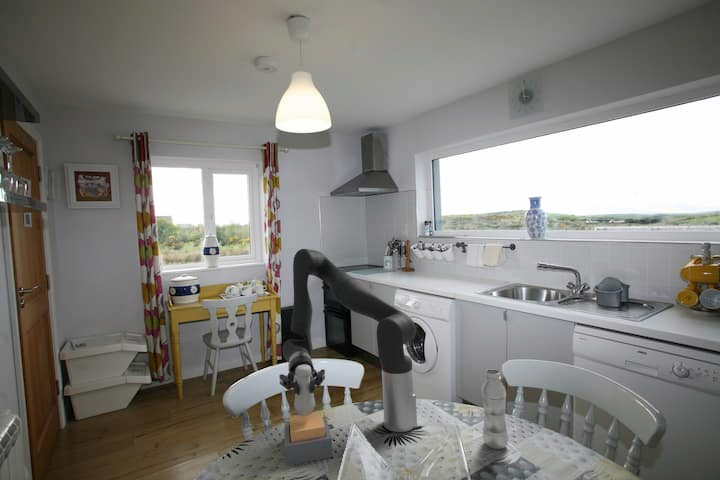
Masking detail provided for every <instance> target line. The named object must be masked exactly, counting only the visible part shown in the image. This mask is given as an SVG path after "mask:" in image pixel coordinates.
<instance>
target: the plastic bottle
mask: <svg viewBox="0 0 720 480" xmlns="http://www.w3.org/2000/svg"><path fill="white" fill-rule="evenodd" d="M480 390H481V391H480V392H481V398H482V403H483V414H484V415H483V416H484V417H483V418H484V419H483V428H482V437H483V438H482V439H483V442H484V444H485V445H486V446H487V447H488V448H491V449H494V450H503V449H505V448H506V447H507V445H508V441H509V435H508V429H507V424H506V423H507V422H506V413H505V412H506V402H507V390H506V387H505V386H504V384H503V383H502V382H501V372H500V370H497V369H495V368H493V369H492V368H491V369H490V368H489V369H488V368H487V369H486V371H485V381H484V383H483V384H482V386H481V389H480Z"/></svg>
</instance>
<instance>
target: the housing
mask: <svg viewBox="0 0 720 480" xmlns="http://www.w3.org/2000/svg"><path fill="white" fill-rule="evenodd" d="M322 418H323V422H324V426H325V437H322V438H316V439H310V440H304V441H298V442H292V443H291V436H290V421H289V422H283V424H284V425H283V426H284V444H285V445H284V447H285V465H286V466H291V465H297V464H301V463H307V462H312V461H313V462H314V461H317V460H323V459H328V458H333V438H332V434H331V431H330V427H329V424H328V420H327V416H322Z"/></svg>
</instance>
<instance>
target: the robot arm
mask: <svg viewBox="0 0 720 480" xmlns="http://www.w3.org/2000/svg"><path fill="white" fill-rule="evenodd" d="M292 263H293V264H292V270H293V271H292V273H293V274H292V277H293V279H292V280H293V281H292V282H293V283H292V284H293V308H292V315H291V322H290V331H291V332H293V333H294V334H298V335H300V336H302V337H303V339H295V338H294V339H288V340H286V341H285V342H283V345H282V355H283V358H284V360H285V361H286V362H287V363H288V373H287V375H285V374H282V373H281V374H279V385H281V386H282V387H283V388H284V389H286V390H288V391H290V390H292V389H293V393H294V394H296V393H297V395H300V393H299V384H298V383H297V379H298V376H296V368H297V367H298V366H299V365H309V366H310V367H311V374H310V375H309V376H310V393H313V394H314V391H316V387H320V386H322V383H323V382H324V380H325V379H326V370H325V369H321V370H319V371H317V370H316V369H315V368H314V363H313V360H312V356H313V351H314V349H313V343H312V335H311V331H312V330H311V329H312V328H311V326H312V319H313V304H312V300H311V297H310V293H309V289H308V284H309V283H308V281H309V276H313V277H317V278H318V279H320V280H321V281H322V282H324V283H325V284H326V285H327V286H328V288H329V290H330V292H331V294H332V296H333V298H335V300H336V301H337V302H339V303H340V304H341V305H343V307H345V308H346V309H348V310H350V311H352V312H353V313H356V314H359V315H362V316H365V317H368V318H371V319H373V320H374V321H376V322H377V325H376V326H377V327H376V344H377V354H378V355H377V356H378V359H379V362H380V364H381V378H382V379H381V381H382V383H381V384H382V400H383V401H382V402H383V423H384V425H383V426H384V427H385V428H386V429H387V430H388V431H391V432H394V433H405V432H409V431H411V430H413V429H414V428H417V427H418V418H417V417H418V414H417V395H416V394H415V392H414V377H413V361H412V358H411V357H410V356H408V355H405V351H404V350H405V349H404V345H405V344H407V343H410V342H412V340H414V338H415V337H416V335H417V327H416V324H415V321H414V320H413V319H412V318H411V316H409V315H408V314H407V313H405V312H403V311H402V310H400V309H398V308H396V307H394V306H393V305H391V304H389V303H388V302H386V301H385V300H383V299H382V298H381V297H379V296H378V295H376V293H374V292H372V291H371V290H370V289H368V288H367V287H366V286H364V285H363V284H362V283H360V282H359V281H358V280H357V279H355V278H353V277H352V276H350V274H348V273H347V272H345V271H343V270H342V269H341V268H339V267H337V266H336V265H335V264H334V263H333V262H332V261H331V260H330V259H329V258H328V257H327V256H326V255H325V254H324V253H322V252H321V251H318V250H314V249H308V248H301V249H299V250H297V252H296V253H295V254H294V257H293V262H292Z"/></svg>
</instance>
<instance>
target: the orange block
mask: <svg viewBox="0 0 720 480" xmlns="http://www.w3.org/2000/svg"><path fill="white" fill-rule="evenodd" d="M322 417H323V414H322V411H314V412H313V411H312V414H310V415H308V416H299V414H296V415H293V414H292V415H289V422H290V436H291V443H292V442H298V441H304V440H310V439H316V438H322V437H325V426H324V422H323V418H322Z"/></svg>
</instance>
